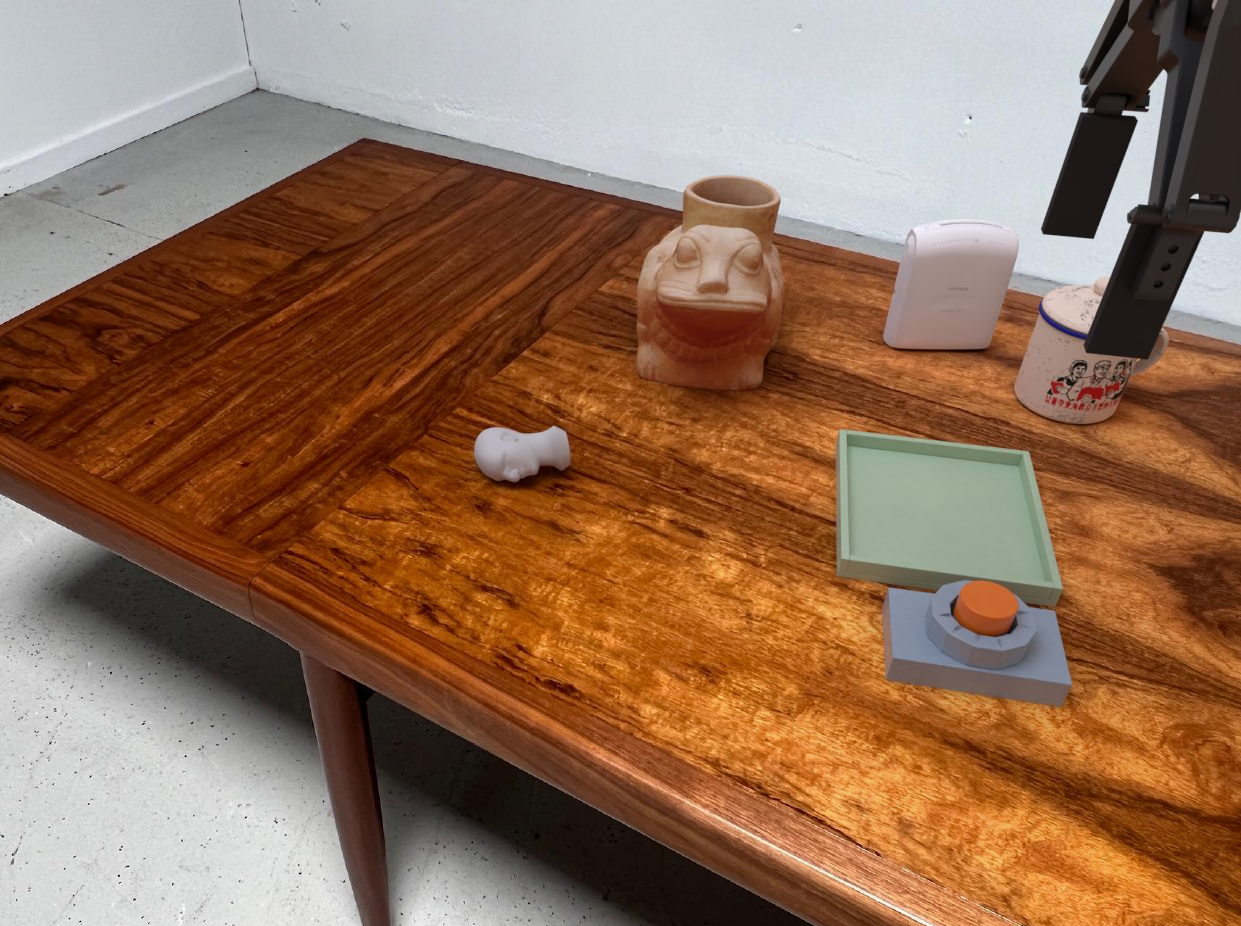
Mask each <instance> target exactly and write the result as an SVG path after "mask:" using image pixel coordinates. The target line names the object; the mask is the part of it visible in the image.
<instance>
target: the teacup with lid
mask: <svg viewBox="0 0 1241 926" xmlns="http://www.w3.org/2000/svg"><path fill="white" fill-rule="evenodd" d="M1109 279H1110V276H1109V277H1108V276H1101V277H1099V278H1097V279H1096V280H1095V282H1094V284H1072V285H1071V284H1070V285H1064V286H1061V287H1057V288H1055V289H1053V290H1051V291H1049V292H1048V293H1047V294H1045V295H1044V297H1043V298H1042V299H1041V301H1040V302H1039V305H1038V315H1037V319H1036V322H1035V325H1034V328H1033V331H1032V333H1031V336H1030V339H1029V342H1028V345H1027V348H1026V350H1025V354H1024V356H1023V360H1022V362H1021V366H1020V367H1019V371H1018V373H1017V376H1016V379H1015V382H1014V385H1013V386H1014V387H1013V390H1014V394H1015V396H1016V398H1017V400H1018V401H1019V402H1020V403H1021V404H1022V405H1023V406H1024V407H1025V408H1027V409H1028V410H1030V411H1032V412H1033V413H1035V414H1037V415H1040V416H1041V417H1044V418H1046V419H1049V420H1051V421H1055V422H1061V423H1064V424H1072V425H1089V424H1090V425H1091V424H1096V423H1100V422H1103V421H1105V420H1107V419H1109V418H1110V417H1111V416H1113V415H1114V414H1115V412H1116V410H1117V408H1118V406H1119V403H1120V401H1121V399H1122V397H1123V394H1124V391H1125V390H1126V387H1127V385H1128V382H1129V380H1130V378H1131V377H1135V376H1137V375H1141V374H1143V373H1145V372H1146V371H1149V369H1151V368H1152V367H1153V366H1154V365H1156V363H1158V362H1159V360H1160V359H1161V358H1162V357H1163V355H1164V354H1165V352H1166V350H1167V348H1168V346H1169V342H1170V338H1169V337H1170V336H1169V334H1168V332H1167V330H1165V329H1164V328H1163V327H1162V329H1161V331H1160V333H1159V336H1158V338H1157V340H1156V342H1155V345H1154V347H1153V349H1152V351H1151V354H1150V356H1149V358H1148V360H1146V359H1136V358H1127V357H1118V356H1109V355H1100V354H1090V353H1086V351H1085V349H1084V346H1083V345H1084V342H1085V340H1086V337H1087V335H1088V332H1089V330H1090V327H1091V324H1092V322H1093V319H1094V317H1095V314H1096V312H1097V309H1098V307H1099V304H1100V302H1101V299H1102V297H1103V294H1104V291H1105V289H1106V286H1107V284H1108V281H1109Z"/></svg>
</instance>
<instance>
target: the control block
mask: <svg viewBox="0 0 1241 926" xmlns="http://www.w3.org/2000/svg"><path fill="white" fill-rule="evenodd" d="M969 582H973V581H969V580H963V581H958V582H954V583H950V584H946V585H943V586H942V587H941V588H940V589H939V590H936V592H935V593H934V592H933V593H931V592H926V591H925V592H924V591H919V590H918V591H917V590H910V589H903V588H897V587H891V586H890V587H888V588H887V591H886V594H885V597H884V600H883V605H882V607H881V619H882V639H883V640H882V641H883V656H884V658H883V659H884V675H885V676H884V677H885V680H886V681H890V682H897V683H903V684H910V685H915V686H921V687H929V688H935V689H942V690H948V691H955V692H961V693H968V694H974V695H979V696H988V697H993V698H1001V699H1004V700H1005V699H1006V700H1012V701H1019V702H1026V703H1031V704H1037V705H1044V706H1045V705H1046V706H1050V707H1051V706H1052V707H1058V708H1062V707H1063V704H1064V702H1065V700H1066V698H1067V696H1068V694H1069V693H1070V691H1071V689H1072V686H1073V682H1072V678H1071V672H1070V670H1069V665H1068V660H1067V656H1066V652H1065V647H1064V643H1063V639H1062V634H1061V629H1060V626H1059V622H1058V618H1057V614H1056V611H1055V610H1053V609H1045V608H1038V607H1032V606H1028V605H1027V603H1024V602H1023V601H1022V600H1021V599H1020V598H1019V597H1018V596H1017V595H1015V594H1014V595H1015V597H1016V598H1017V600H1018V604H1019V608H1018V611H1017V613H1016V616H1015V618H1014V621H1013V623H1012V625H1011V628H1010V630H1009V631H1008V632H1007V633H1005V634H1003V635H1001V636H997V637H990V636H983V635H978V634H976V633H974V632H972V631H970V630H968V629H966V628H964V627H962V626H961V625H960V624H959V623H958V622H957V620H956V619H955V616H954V607H955V604H956V602H957V599H958V596H959V593H960V591H961V589H962V587H963V586H964V585H966V584H967V583H969Z"/></svg>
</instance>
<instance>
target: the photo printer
mask: <svg viewBox="0 0 1241 926" xmlns="http://www.w3.org/2000/svg"><path fill="white" fill-rule="evenodd" d="M1019 245H1020V239H1019V234H1018V233H1017V232H1016V230H1015V228H1014V227H1011V226H1008V225H1006V224H1003V223H999V222H996V221H991V220H986V219H978V218H977V219H976V218H953V219H944V220H937V221H932V222H929V223H923V224H921V225H918V226H915V227H913V228H911V229H910V230H909V231H908V234H907V235H906V239H905V241H904V246H903V249H902V253H901V257H900V262H899V266H898V270H897V274H896V279H895V283H894V287H893V291H892V295H891V296H892V297H891V299H890V304H889V309H888V313H887V316H886V321H885V325H884V330H883V334H882V339H883V341H884V343H885V344H886V345H888V346H889V347H890V348H896V349H907V350H982V349H987V348H989V347H990V345H991V342H992V339H993V336H994V333H995V330H996V327H997V324H998V321H999V317H1000V315H1001V314H1000V313H1001V311H1002V307H1003V305H1004V301H1005V297H1006V294H1007V291H1008V287H1009V284H1010V281H1011V278H1012V274H1013V272H1014V268H1015V265H1016V262H1017V258H1018V254H1019V249H1020V248H1019V247H1020V246H1019Z"/></svg>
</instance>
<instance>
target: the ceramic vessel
mask: <svg viewBox="0 0 1241 926" xmlns="http://www.w3.org/2000/svg"><path fill="white" fill-rule="evenodd" d="M682 196H683V197H682V224H681V225H679V226H677V227H676V228H674V229H673V230H671V231H670V232H668V234H667V235H665V236H664V237H663V238H662V239H661V240H660V242H659V243H658V244H657V245H655V246H653V247H652V248H651V249H650V250H649V251H648V252H647V254H646V256H645V258H644V261H643V265H642V267H641V271H640V275H639V277H638V281H637V287H636V288H637V289H636V309H637V320H636V336H637V342H638V346H637V351H636V352H637V353H636V360H635V372H636V374H637V375H638V376H639V377H640V378H643V379H645V380H649V381H654V382H657V383H658V382H659V383H662V384H667V385H672V386H678V387H685V388H690V389H691V388H693V389H703V390H720V391H722V390H723V391H739V392H740V391H741V392H742V391H753V390H756V389H758V388H759V387H761V386H762V383H763V381H764V363H765V358H766V357H767V355H768V353H769V352H770V351H772V350H773V349H774V347H775V346H776V344H777V340H778V335H779V331H780V327H781V323H782V313H783V312H782V311H783V302H784V299H785V293H786V292H785V291H786V290H785V284H784V283H785V282H784V276H783V275H784V274H783V269H782V264H781V257H780V253H779V251H778V249H777V247H776V246H775V245H774V243H773V239H774V235H775V234H774V233H775V228H776V224H777V220H778V215H779V211H780V210H779V209H780V206H781V202H782V201H781V196H780V194H779V191H778V190H777V189H776V188H775V187H773V186H772V185H769V184H767V183H766V182H764V181H763V180H760V179H757V178H755V177H749V176H744V175H732V174H727V175H726V174H722V175H712V176H705V177H702V178H700V179H697V180H695V181H693V182H690V183H689V184H688V185H686V187H685V189H684V190H683V195H682Z"/></svg>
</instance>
